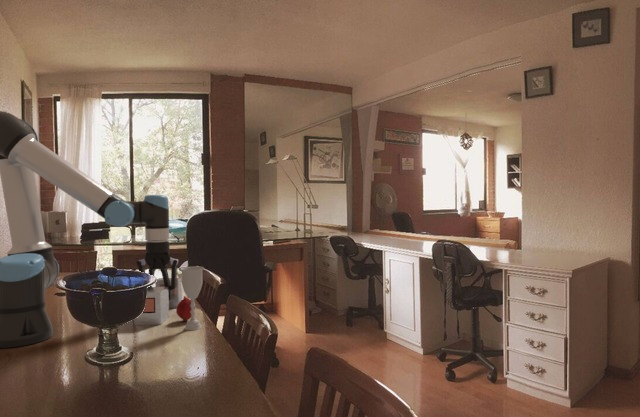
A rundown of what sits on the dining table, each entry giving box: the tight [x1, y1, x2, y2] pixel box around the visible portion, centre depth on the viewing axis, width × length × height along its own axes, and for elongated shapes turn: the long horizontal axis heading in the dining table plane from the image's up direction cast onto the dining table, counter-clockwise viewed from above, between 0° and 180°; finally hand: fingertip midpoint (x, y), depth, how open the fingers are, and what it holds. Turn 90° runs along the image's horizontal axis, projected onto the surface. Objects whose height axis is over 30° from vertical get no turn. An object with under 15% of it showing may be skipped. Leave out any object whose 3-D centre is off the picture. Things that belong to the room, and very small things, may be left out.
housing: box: [133, 286, 170, 326], centre depth 139 cm, size 9×8×10 cm
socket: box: [155, 277, 183, 309], centre depth 158 cm, size 4×8×10 cm, turn 94°
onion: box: [175, 295, 196, 322], centre depth 138 cm, size 6×6×8 cm
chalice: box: [179, 265, 205, 331], centre depth 131 cm, size 7×7×18 cm
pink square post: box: [143, 298, 155, 312], centre depth 144 cm, size 18×4×4 cm, turn 4°
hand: (158, 310), depth 146 cm, fingers closed on pink square post, 4 cm apart
